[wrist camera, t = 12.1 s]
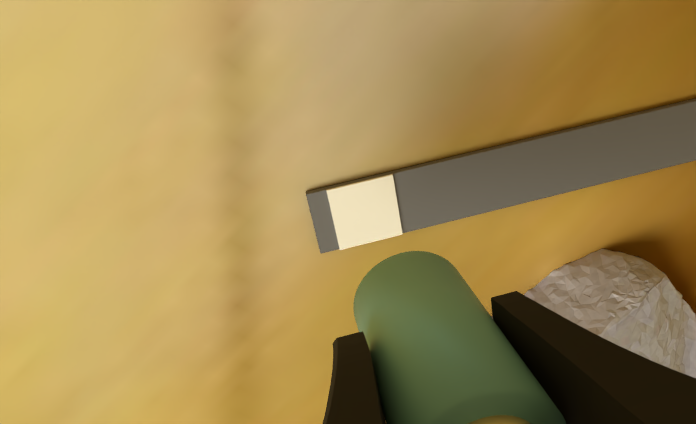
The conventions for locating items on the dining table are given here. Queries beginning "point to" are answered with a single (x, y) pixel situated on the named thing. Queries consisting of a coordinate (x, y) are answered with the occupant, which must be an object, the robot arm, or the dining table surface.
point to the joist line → (502, 176)
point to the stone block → (624, 306)
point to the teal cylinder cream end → (442, 349)
